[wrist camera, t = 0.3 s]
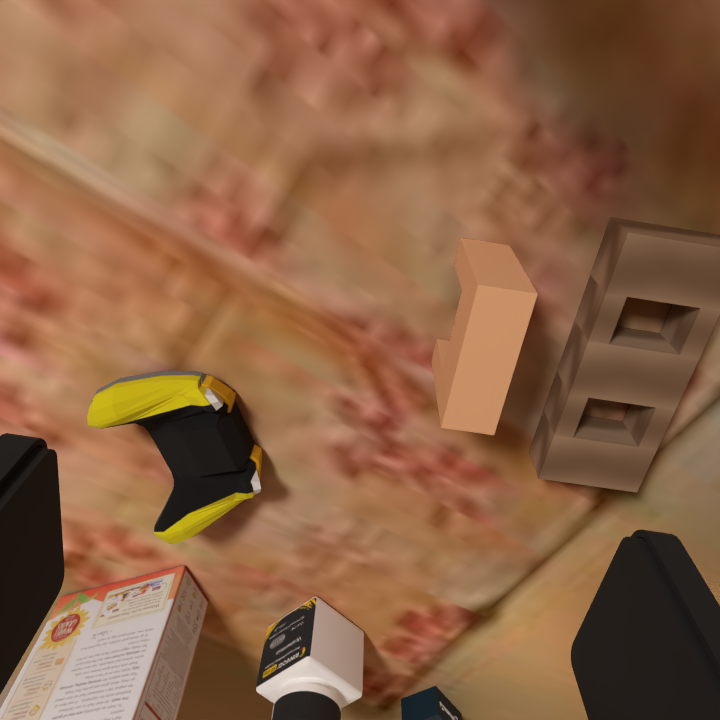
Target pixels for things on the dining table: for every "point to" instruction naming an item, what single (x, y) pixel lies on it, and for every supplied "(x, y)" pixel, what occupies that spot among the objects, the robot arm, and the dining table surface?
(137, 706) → the cracker box
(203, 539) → the dining table surface
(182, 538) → the gaming controller
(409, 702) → the watch
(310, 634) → the medicine bottle
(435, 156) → the dining table surface
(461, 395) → the peach block
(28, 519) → the robot arm
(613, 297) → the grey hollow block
